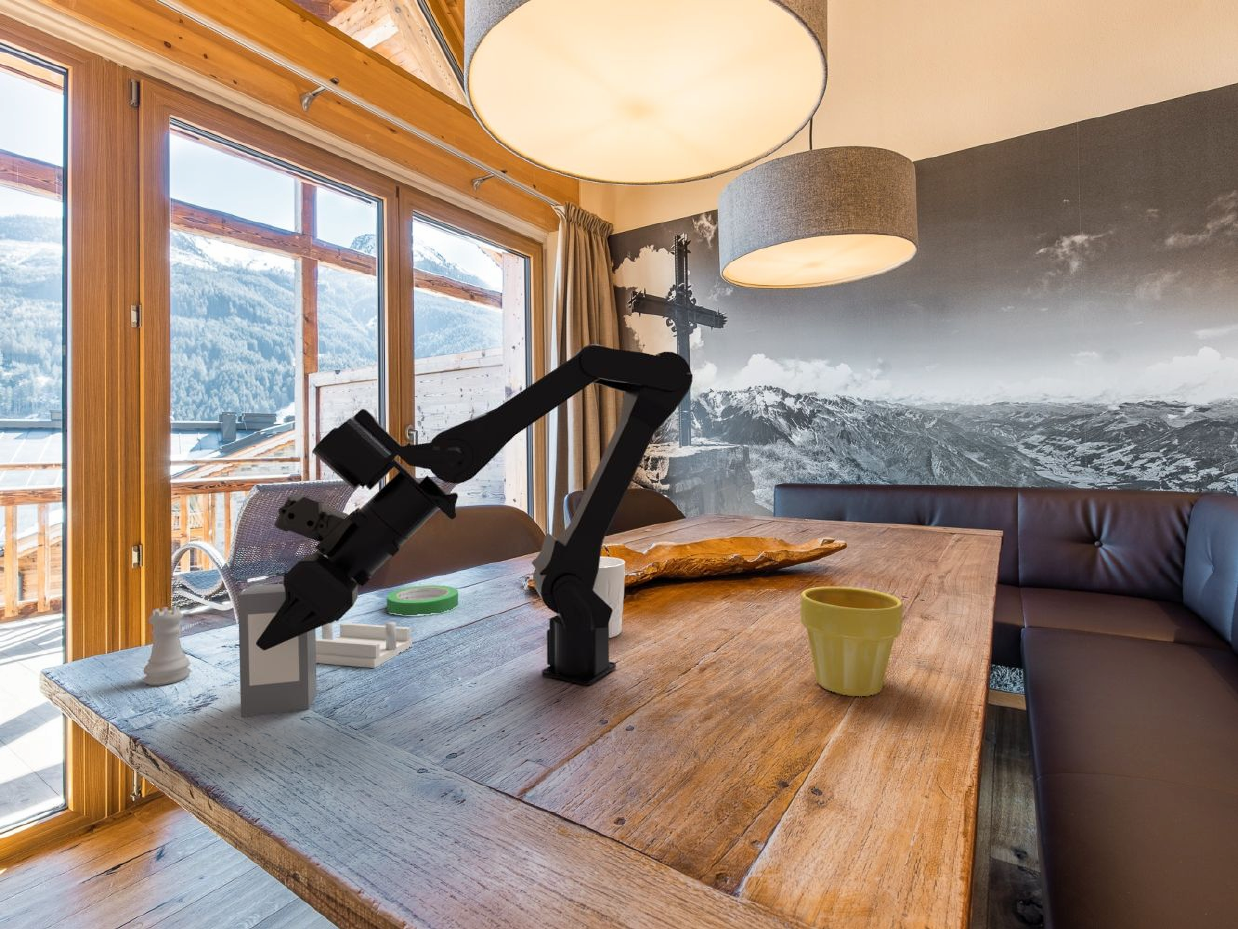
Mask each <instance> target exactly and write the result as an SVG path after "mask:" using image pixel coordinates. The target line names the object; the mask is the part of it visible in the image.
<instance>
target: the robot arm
mask: <svg viewBox="0 0 1238 929" xmlns="http://www.w3.org/2000/svg"><path fill="white" fill-rule="evenodd" d="M693 377H694V376H693V373H692V371H691V368H690V365H689V363H688V362H687V360H686V359H685V358H684V357H683V356H681V355H680V354H679V353H675V352H673V351H663V352H659V353H657V354H650V353H646V352H642V351H632V350H626V349H616V348H611V347H608V346H607V347H606V346H603V345H600V344H597V343H590V344H588V345H585V346H583V347H581V348H580V349H579V350H578V351H577V352H575V353H574V355H573V356H572V357H571V358H570V359H568V360H567V361H565V362H564V363H562V364H560V365H559V366H558V367H556V368H555V369H553V370H551V371H550V372H549V373H547V374H546V375H544V376H542V377H541V378H540V379H538V380H537V381H535V382H533V383H532V384H530V385H529V386H527V387H526V388H524V389H523V390H522V391H520V392H519V393H517V394H516V395H514V396H512V397H511V398H510V399H508V400H507V401H505V402H504V403H502V404H500V405H499V406H497V407H496V408H494V409H492V410H489V411H487V412H484V413H483V414H480V415H478V416H475V417H473V418H470V419H468V420H466V421H464V422H461V423H459V424H456V425H454V426H452V427H450V428H448V429H445V430H443V431H441V432H439V433H437V434H436V435H435V436H433V438H432V439H431V441H430V442H425V443H416V444H413V442H412V441H410V442H407V444H405V445H402V444H401V443H400V442H398V440H396V439H395V437H393V436H392V435H391V434H390V433H389V432H388V431H387V430H386V429H384V427H382V426H381V425H380V424H379V422H378V421H377V419H376V417H374V416H373V414H371V413H370V412H369V410H368V409H366V408H361V409H360V410H359V411H357V412H356V413H355V415H353V416H351V417H350V418H348V419H347V420H346V421H344V422H343V423H342V424H341V425H339V426H338V427H333V428H332V429H331V430H330V431H329V432H328V433H327V434H326V435H325V436H324V437H323V438H322V439H321V440H319V442H318V443H317V444H316V445H315V447H314V448H313V450H312V453H313V455H315V457H317V458H318V459H319V460H320V461H321V462H323V464H325V465H326V466H327V467H328V468H329V469H330V470H331V471H332V472H334V473H335V474H336V475H337V476H338V477H339V478H341V480H342V481H343V482H344V483H346V485H348V486H349V487H350V488H351V489H353V490H354V491H355V490H357V489H358V488H359V487H361V488H364V487H365V488H366V489H368V491H371V490H372V489H374V488H375V487H376V485H378V484H379V483H380V482H381V481H382V480H383V479H385V478H386V476H387V475H388V474H390V472H392V471H393V469H394V468H395V470H397V471H398V472H397V473H396V474H395V475H394V476H393V477H392V478H391V479H390V480H389V481H387V482H386V483H385V485H384V486H383V487H381V489H379V491H377V493H375V495H373V496H372V497H371V498H370V499H369V500H368V501H367V502H366V503H365V504H364V505H363V506H362V507H361V508H360V507H357V508H356V509H354V510H353V511H352V512H351V513H349V514H348V513H346V512H343V511H342V510H339V509H336V507H333V506H330V505H327V504H324V503H322V500H315V499H312V498H310V495H305V496H304V495H302V494H299V493H296V494H295V493H293V494H291V495H288V496H287V498H286V499H285V502H284V504H283V506H281V507H279V509H278V516H277V518H276V520H275V522H274V523H273V526H274V527H275V528H277V529H279V530H281V531H284V532H292V533H294V534H297V535H300V536H303V537H305V538H307V539H311V540H313V541H316V542H319V543H318V544H317V545H316V546H315V547H314V548H315V549H316V551H314V552H313V553H312V554H306V555H305V556H304V557H302V558H301V559H300V560H299V561H298V562H297V563H295V564H294V566H293V567H291V569H289V570H288V571H287V572H286V573H285V574H284V575H283V576H282V577H283V579H282V584H283V586H284V587H285V595H286V599H285V601H284V603H283V604H282V606H281V607H280V609H279V610H278V611H277V613H276V614H275V616H274V617H273V619H272V620H271V622H270V623H269V624H268V626H267V627H266V629H265V630H264V632H263V633H262V635H261V636H260V637H259V639H258V640H257V642H256V645H257V646H258V647H259V648H261V649H262V650H267V649H270V648H272V647H274V646H276V645H279V644H281V643H283V642H285V641H288V640H290V639H292V638H295V637H297V636H299V635H302V634H304V633H306V632H309V631H311V630H313V629H319V628H320V627H321V628H322V626H323V625H326V624H328V623H332V624H333V623H334V622H339V621H340V619H342V618H343V616H344V615H346V614H347V612H349V611H350V609H351V608H352V607H353V606H354V605H355V603H356V601H357V599H358V597H359V596H358V594H359V593H358V585H359V586H361V587H364V586H365V585H366V584H367V583H368V582H369V581H370V580H371V577H372V576H373V575H374V574H375V572H377V571H378V570H379V569H380V568H381V567H382V566H383V565H384V564H385V563H386V562H387V561H388V560H389V559H390V558H391V557H395V555H396V554H397V553H398V552H399V551H400V550H401V547H402V546H403V545H404V544H405V543H406V542H407V541H408V540H410V538H411V537H412V536H413V535H415V533H417V531H418V530H419V529H420V528H422V526H423V525H424V524H425V523H426V522H427V521H428V520H429V519H430V518H431V517H432V516H434V514H435V513H437V511H438V510H440V512H442V513H444V515H445V516H446V517H448V519H450V520H455V519H456V518H457V512H456V510H457V509H456V505H457V501H458V498H459V495H458V492H446V491H444V489H443V488H442V487H441V486H439V484H437V483H436V482H435V481H434V480H433V479H432V478H431V477H430V476H429V475H426V476H425V477H424V478H423V479H421V480H420V479H418V478H417V477H416V476H415V475H414V474H413V473H411V471H409V470H408V469H407V468H406V467H405V466H404V465H403V464H402V463H401V462H399V461H398V459H397V458H398V457H400V459H401V460H403V461H404V462H405V463H406V464H407V465H408V466H410V467H416V468H420V469H425V470H426V469H427V470H430V472H431V473H432V474H433V475H434V476H435V477H436V478H437V479H439V480H441V481H442V482H445V483H447V484H448V483H449V484H458V485H459V484H462V483H463V484H464V483H465V482H467V481H469V480H472V479H473V478H475V477H476V475H477V474H479V472H480V471H482V469H484V468H485V466H487V464H489V462H490V461H492V460H493V459H494V458H495V457H496V455H498V453H499V452H501V450H502V449H503V448H504V447H505V446H506V445H507V444H508V443H509V442H510V441H511V440H512V439H513V438H514V437H515V436H516V435H518V434H519V433H521V432H522V431H524V430H525V429H526V428H528V427H530V426H531V425H533V424H534V423H535V422H536V421H537V422H538V420H540V419H542V417H544V416H545V415H547V414H548V413H550V412H551V411H553V410H555V409H556V408H557V407H558V406H560V405H562V404H563V403H564V402H566V401H567V400H569V399H570V398H572V397H573V396H575V395H576V394H578V393H579V392H580V391H582V390H584V389H585V388H587V387H588V386H590V385H591V384H592V383H593V384H596V385H601V386H603V387H605V388H606V387H607V388H610V389H613V390H616V391H620V392H624V394H623V397H622V405H621V411H620V413H621V414H620V418H619V422H618V424H617V426H616V428H615V431H614V432H613V434H612V437H611V439H610V441H609V443H608V445H607V446H606V448H605V451H604V453H603V455H602V456H601V459H600V461H599V463H598V465H597V467H596V470H595V471H594V473H593V475H592V477H591V479H590V482H589V483H588V485H587V488H586V490H585V492H584V494H583V496H582V498H581V500H580V503H579V505H578V507H577V509H576V511H575V513H574V515H573V516H572V518H571V521H570V523H569V524H568V526H567V527H566V528H565V529H564V531H562V533H561V534H560V535H559V536H558V537H555V536H553V535H552V534H551V533H546V535H545V537H544V540H543V543H542V546H541V549H540V552H539V554H538V555H537V556H536V557H535V559H533V560H532V561H531V564H532V566H533V567H534V571H533V574H532V581H533V585H534V589H535V590H536V593H537V594H538V595H539V597H540V599H541V600H542V602H543V603H544V605H545V606H546V607H547V608H548V609H549V610H550V611H552V612H554V613H555V614H556V615H555V616H552V617H550V618H549V619H548V620H549V621H548V622H549V624H548V626H549V627H548V629H547V630H546V664H547V665H548V666H547V667H545V668H543V669H542V670H541V676H543V677H548V678H549V677H550V678H553V679H558V680H561V681H567V682H572V683H575V684H581V685H584V686H588V685H592V684H593V683H595V682H596V681H598V680H599V679H601V678H602V677H604V676H605V675H607V674H608V673H609V672H612V671H613V670H614V669H616V667H617V663H616V662H614V661H610V638H609V621H610V618H611V615H612V611H613V610H612V608H611V607H610V606H609V605H608V604H607V603H606V602H605V601H604V600H603V599H602V598H601V597H599V596H598V595H597V594H596V593H595V592H594V591H593V588H594V584H595V581H596V577H597V574H598V570H599V563H600V557H601V554H602V546H603V544H604V543H603V542H604V539H605V537H606V536H607V533H608V531H609V529H610V527H611V525H612V523H613V520H614V518H615V516H616V514H617V512H618V510H619V508H620V506H621V504H622V503H623V502H622V501H623V500H624V498H625V495H626V494H627V491H628V489H629V487H630V485H631V483H632V481H633V479H634V476H635V475H636V474H637V471H638V469H639V466H640V464H641V462H642V460H643V458H644V455H645V454H646V453H647V452H646V451H647V449H648V447H649V445H650V443H651V441H652V439H653V438H654V435H655V434H656V432H657V430H658V429H660V427H661V426H663V424H664V423H666V421H667V420H668V419H669V417H670V416H672V415H673V413H675V411H676V410H677V408H678V407H679V406H680V404H681V402H682V401H683V400H684V398H685V397H686V396H687V394H688V393H689V391H690V389H691V386H692V383H693Z"/></svg>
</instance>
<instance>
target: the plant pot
mask: <svg viewBox="0 0 1238 929" xmlns="http://www.w3.org/2000/svg"><path fill="white" fill-rule="evenodd" d="M903 607H904V606H903V602H902V601H901V600H900V599H899V598H898V597H896V596H894V595H892V594H889V593H885V592H881V591H876V590H873V589H866V588H861V587H860V588H859V587H849V586H817V587H812V588H807V589H805V590H803V591H802V592H801V594H800V622H801V624H802V625H803V627H805V628H806V630H807V631H806V632H807V635H808V636H807V637H808V641H809V646H810V652H811V656H812V664H813V668H814V673H815V679H816V682H817V683H818V685H820V687H821V688H823V689H825V690H827V691H829V692H831V691H832V693H834V692H835V693H834V694H838V695H842V696H846V695H847V696H848V697H855V696H859V698H861V697H862V696H866V697H871V696H870V695H872V696H875V695H877V693H878V692H879V693H881V691H882V687H883V683H884V680H885V676H886V672H887V669H888V665H889V660H890V656H891V653H892V652H891V651H892V649H893V646H894V642H895V639H896V638H897V637H898V638H899V636H900V635H901V633H902V628H903V610H904V608H903ZM879 693H878V694H879ZM874 694H875V695H874ZM860 696H861V697H860ZM862 698H863V697H862Z"/></svg>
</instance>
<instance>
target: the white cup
mask: <svg viewBox="0 0 1238 929" xmlns="http://www.w3.org/2000/svg"><path fill="white" fill-rule="evenodd" d="M625 571H626V561H625V560H624V559H621V558H617V557H612V556H600V563H599V570H598V574H597V577H596V581H595V584H594V588H593V591H594V592H595V593H596V594H597V595H598V596H599V597H601V598H602V599H603V600H604V601H605V602H606V603H607V604H608V605H609V606H610V607H611V608H612V610H613V611H612V615H611V618H610V621H609V639H611V638H614V637H617V636H619V635H620V634H621V633H622V627H623V616H622V615H623V611H624V600H625V599H624V597H625V575H626V574H625Z"/></svg>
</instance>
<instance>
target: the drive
mask: <svg viewBox="0 0 1238 929" xmlns="http://www.w3.org/2000/svg"><path fill="white" fill-rule="evenodd" d="M285 599H286V595H285V587H284V586H283V583H277V584H276V583H274V584H258V585H255V584H254V585H249V586H248V587H246V588H245V589H243V591H241V592H240V593H238V595H237V600H238V603H237V605H238V606H237V608H238V611H237V612H238V643H239V644H238V646H239V649H238V650H239V651H238V654H239V686H240V688H239V690H240V691H239V694H240V717H242V718H244V717H253V716H262V715H270V714H271V715H272V714H279V713H280V714H281V713H289V712H297V711H298V712H299V711H306V710H307V711H308V710H310V708H311V706H312V705H313V702H314V700H315V698H316V697H317V694H318V689H317V688H318V687H317V686H318V684H317V682H318V679H317V663H316V639H317V636H316V634H317V633H316V629H317V628H316V629H313V630H311V631H309V632H306V633H304V634H302V635H299V636H297V637H295V638H292V639H290V640H288V641H285V642H283V643H281V644H279V645H276V646H274V647H272V648H270V649H267V650H262V649H261V648H259V647H258V646H257V645H256V642H257V640H258V639H259V637H260V636H261V635H262V633H263V632H264V630H265V629H266V627H267V626H268V624H269V623H270V622H271V620H272V619H273V617H274V616H275V614H276V613H277V611H278V610H279V609H280V607H281V606H282V604H283V603H284V601H285Z"/></svg>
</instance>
